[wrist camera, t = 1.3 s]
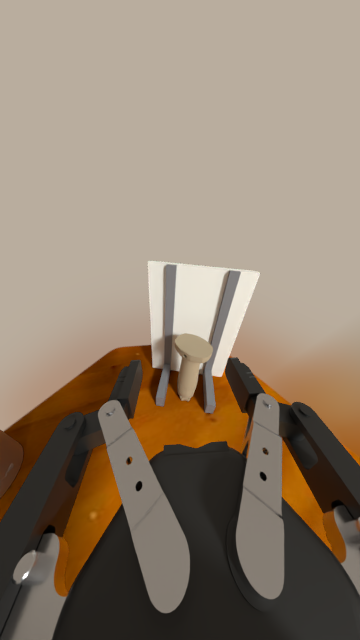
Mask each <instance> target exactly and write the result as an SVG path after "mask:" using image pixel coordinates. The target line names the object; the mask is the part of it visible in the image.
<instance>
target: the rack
mask: <svg viewBox="0 0 360 640" xmlns="http://www.w3.org/2000/svg"><path fill="white" fill-rule="evenodd" d="M259 275H260V273H259V272H257V271H250V270H240V269H229V268H220V267H208V266H199V265H189V264H179V263H169V262H159V261H149V262H148V279H149V301H150V323H151V345H152V367H153V368H158V369H163V371H162V375H161V379H160V383H159V387H158V391H157V395H156V405H157V406H164V403H165V397H166V392H167V387H168V381H169V376H170V371H171V370H173V371H179V370H180V365H181V360H182V357H181V356H180V355H179V353H178V352H177V350H176V349H175V339H176V338H177V337H178V336H179V335H181V334H184V333H187V334H193V335H196V336H199V337H201V338H203V339H205V340H206V341H207V342H208V343H209V344H210V345H211V346H212V347H213V352H212V355H211V357H210V359H209V360H208V361H207V362H205V363H200V367H199V374H203V390H204V410H205V412H206V413H213V411H214V409H215V406H216V405H215V396H214V387H213V379H212V376H219V377H222V374H223V371H224V369H225V366H226V363H227V360H228V358H229V355H230V352H231V350H232V347H233V344H234V342H235V339H236V336H237V334H238V331H239V328H240V326H241V323H242V320H243V318H244V315H245V312H246V310H247V307H248V304H249V301H250V299H251V296H252V294H253V291H254V288H255V286H256V283H257V280H258V278H259Z"/></svg>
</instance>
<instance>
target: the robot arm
mask: <svg viewBox="0 0 360 640" xmlns="http://www.w3.org/2000/svg"><path fill="white" fill-rule="evenodd" d="M225 374H226V377H227V379H228V382H229V384H230V386H231V389H232V391H233V393H234V396H235V398H236V400H237V402H238V405H239V407H240V409H241V412H242V413H248V416H249V417H248V421H247V426H246V431H245V435H244V440H243V444H242V447H241V451H240V453H239V452H238V451H236V450H235V449H233V448H230V447H228V445H227V442H226V441H224V442H211V443H209V444H206V445H204V446H202V447H199V448H196V449H195V448H191V447H188V446H184V445H180V444H177V445H164V451H162V452H160V453H158V454H156V455H155V456H154V457H153V458H152V459H151V460H150V461H148V459H147V457H146V455H145V453H144V450H143V448H142V446H141V444H140V442H139V440H138V438H137V436H136V434H135V431H134V430H133V428H132V427H131V425H130V423H129V421H128V420H129V418H133V417H134V412H135V408H136V404H137V399H138V395H139V390H140V386H141V382H142V366H141V361H140V360H132V361H131V362H130V365H129V367H124V368H123V369H122V370H121V372H120V374H119V376H118V379H117V382H116V384H115V386H114V388H113V391H112V393H111V395H110V398H109V400H108V402H106V403H105V404H104V405H103V406H102V407H101V408H100V409H99V410H97V411H95V412H92V413H89V414H86V415H84V416H83V414H82V413H80V412H75V413H72V414H70V415H68V416H66V417H65V418H64V419H63V420H62V421H61V422H60V423H59V425H58V426H57V428H56V430H55V431H54V433H53V435H52V436H51V438H50V440H49V441H48V443H47V445H46V446H45V448H44V450H43V451H42V453H41V455H40V456H39V458H38V460H37V462H36V463H35V465H34V467H33V468H32V470H31V472H30V473H29V475H28V477H27V478H26V480H25V482H24V483H23V485H22V487H21V488H20V490H19V492H18V494H17V495H16V497H15V499H14V500H13V502H12V504H11V505H10V507H9V509H8V510H7V512H6V514H5V515H4V517H3V519H2V520H1V522H0V640H360V466H359V465H358V463H357V462H356V461H355V460H354V459H353V457H352V456H351V455H350V454H349V453H348V451H347V450H346V449H345V448H344V447H343V445H342V444H341V443H340V442H339V441H338V439H337V438H336V437H335V436H334V435H333V433H332V432H331V431H330V430H329V429H328V427H327V426H326V425H325V424H324V423H323V421H322V420H321V419H320V418H319V417H318V415H317V414H316V413H315V412H314V411H313V410H312V409H311V408H310V407H309V406H307V405H305V404H303V403H300V402H294V403H293V404H292V405H291V406H290V405H286V404H282V403H279V402H277V401H276V400H275V399H274V398H273V397H271V396H270V395H268V394H266V393H265V392H264V390H263V389H262V387H261V386H260V384H259V383H258V381H257V380H256V378H255V377H254V375H253V373H252V372H251V370H250V369H249V367H247V366H246V365H245V364H244V363H240V361H239V359H238V358H228V360H227V365H226V369H225ZM279 435H280V436H279ZM281 436H282V438H283V440H284V442H285V443H286V445H287V447H288V449H289V451H290V453H291V454H292V456H293V458H294V460H295V462H296V464H297V466H298V467H299V469H300V471H301V473H302V475H303V477H304V478H305V480H306V482H307V484H308V486H309V488H310V489H311V491H312V493H313V495H314V497H315V499H316V500H317V502H318V504H319V506H320V508H321V510H322V512H323V513H324V515H323V525H324V529H325V531H326V536H327V539H328V541H329V543H330V544H331V547H332V551H331V550H330V549H329V548H328V547H327V546H326V545H325V543H324V542H323V541H322V540H321V539H320V538H319V537H318V536H317V535H316V534H315V533H314V531H313V530H312V529H311V528H310V527H309V526H308V525H307V524H306V523H305V522H304V521H303V519H302V518H301V517H300V516H299V515H298V514H297V513H296V512H295V511H294V510H293V509H292V507H291V506H290V505H289V504H288V503H287V502H286V501H285V500H284V499H283V498H282V438H281ZM104 443H106V445H107V452H108V455H109V459H110V462H111V465H112V469H113V472H114V476H115V479H116V482H117V486H118V489H119V493H120V496H121V500H122V505H121V506H120V508H119V509H118V511H117V513H116V514H115V516H114V517H113V519H112V521H111V522H110V524H109V525H108V527H107V529H106V530H105V532H104V533H103V535H102V537H101V538H100V540H99V542H98V543H97V545H96V546H95V548H94V550H93V551H92V553H91V554H90V556H89V558H88V559H87V561H86V562H85V564H84V566H83V567H82V569H81V570H80V572H79V574H78V575H77V577H76V579H75V581H74V583H73V585H72V586H71V588H70V591H69V593H68V592H67V591H66V588H65V569H66V565H67V560H68V554H69V547H68V543H67V541H66V540H65V539H64V538H62V537H63V534H64V531H65V528H66V525H67V522H68V519H69V516H70V513H71V511H72V508H73V505H74V502H75V499H76V496H77V493H78V490H79V488H80V485H81V482H82V479H83V476H84V473H85V470H86V467H87V465H88V462H89V459H90V456H91V453H92V450H93V448H95V447H97V446H100V445H102V444H104ZM23 454H24V453H23V447H22V446H21V444H20V443H18V442H17V441H15V440H14V439H13V438H11V437H10V436H8V435H7V434H5V433H4V432H3V431H1V430H0V498H1V497H2V496H3V495H4V493H5V492H6V491H7V489H8V488H9V486H10V485H11V483H12V482H13V480H14V479H15V477H16V475H17V473H18V471H19V469H20V466H21V464H22V461H23Z"/></svg>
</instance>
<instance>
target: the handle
mask: <svg viewBox="0 0 360 640" xmlns="http://www.w3.org/2000/svg"><path fill="white" fill-rule="evenodd" d="M175 349H176V350H177V352H178V353H179V355H180V356H181V357H182V360H181V365H180V370H179V375H178V394H179V396H180V400H182V401H183V400H186V401H189V400H190V398H191V397H192V396H193V393H194V392H195V389H196V386H197V382H198V374H199V367H200V363H205V362H207V361H208V360H209V359H210V357H211V355H212V352H213V347H212V346H211V345H210V344H209V343H208V342H207V341H206V340H205V339H203V338H201V337H199V336H196V335H193V334H187V333H184V334H181V335H179V336H178V337H177V338H176V339H175Z"/></svg>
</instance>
